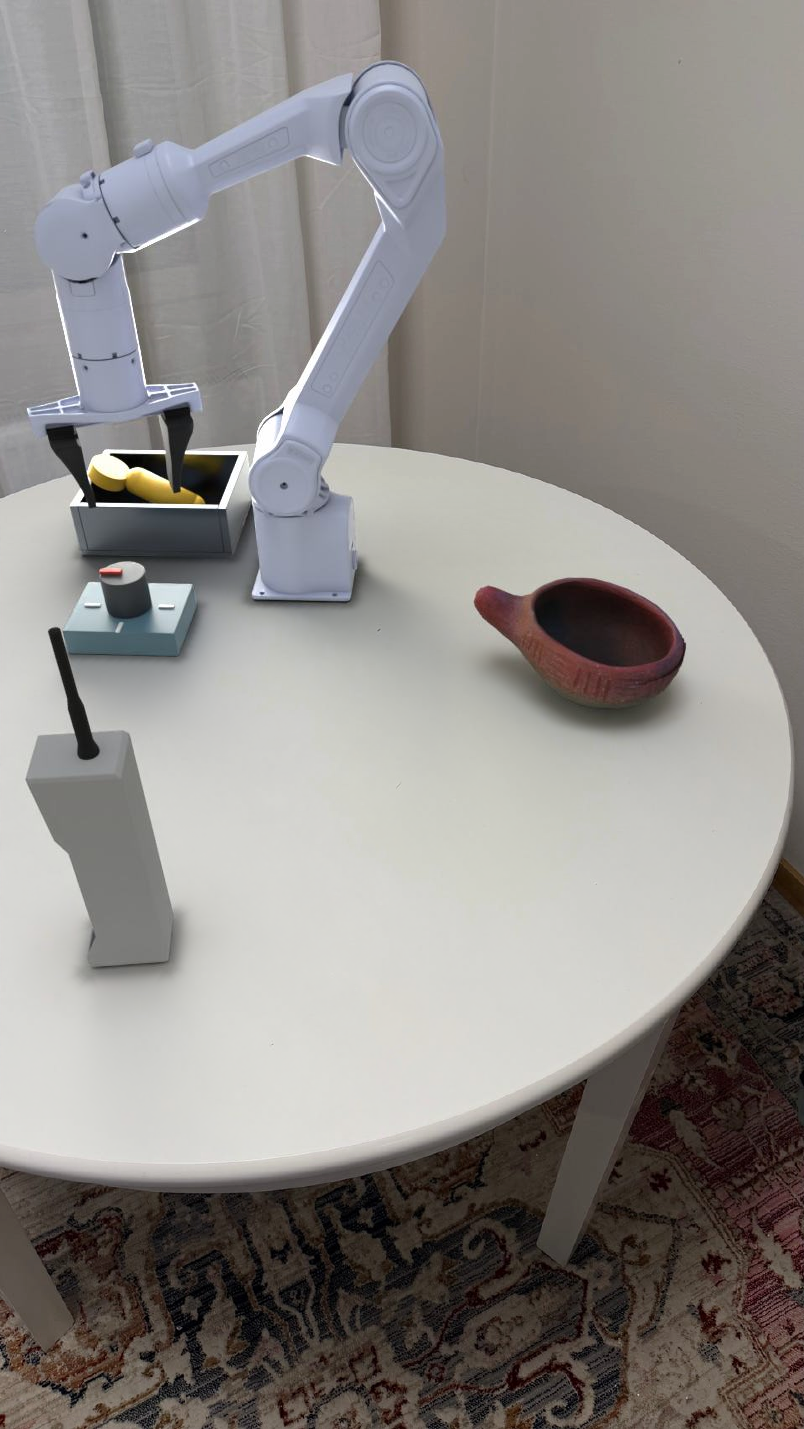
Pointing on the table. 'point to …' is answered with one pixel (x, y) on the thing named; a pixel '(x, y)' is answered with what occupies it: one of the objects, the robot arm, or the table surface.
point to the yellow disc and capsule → (137, 482)
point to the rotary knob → (125, 589)
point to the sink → (169, 509)
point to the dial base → (131, 623)
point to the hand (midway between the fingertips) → (133, 495)
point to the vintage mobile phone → (103, 831)
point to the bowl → (589, 639)
